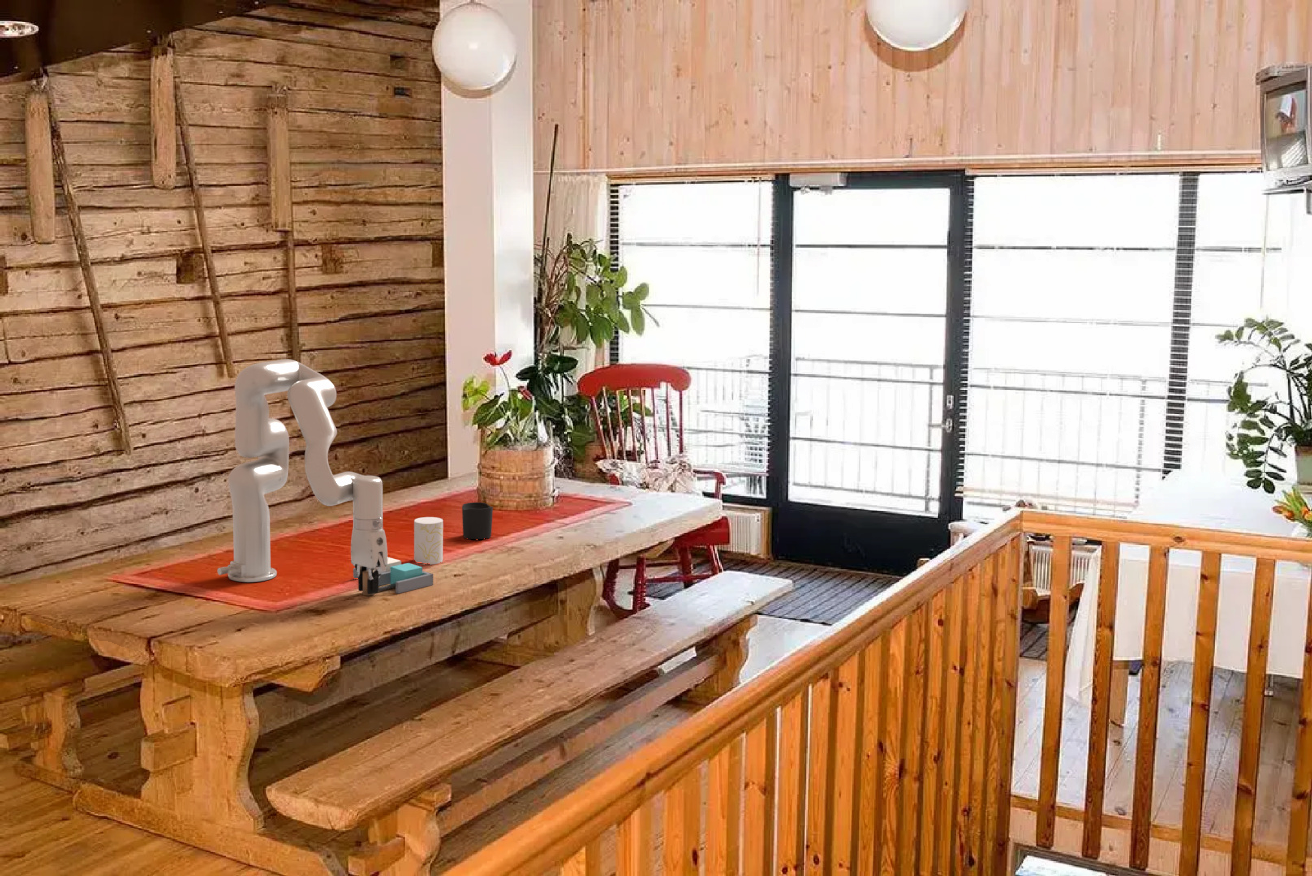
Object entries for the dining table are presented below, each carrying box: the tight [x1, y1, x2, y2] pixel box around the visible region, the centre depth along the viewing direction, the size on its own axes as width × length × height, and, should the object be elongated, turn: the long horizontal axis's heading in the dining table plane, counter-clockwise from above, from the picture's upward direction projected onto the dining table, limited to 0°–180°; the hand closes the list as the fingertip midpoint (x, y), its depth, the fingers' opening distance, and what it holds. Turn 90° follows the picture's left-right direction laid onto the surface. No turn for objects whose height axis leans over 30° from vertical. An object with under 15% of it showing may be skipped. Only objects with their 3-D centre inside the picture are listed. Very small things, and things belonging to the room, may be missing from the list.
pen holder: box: [461, 501, 494, 540], centre depth 404 cm, size 9×9×10 cm
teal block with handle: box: [362, 562, 423, 597], centre depth 347 cm, size 17×6×6 cm, turn 139°
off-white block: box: [373, 557, 402, 573], centre depth 357 cm, size 6×6×5 cm
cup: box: [413, 516, 444, 565], centre depth 375 cm, size 8×8×12 cm
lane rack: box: [352, 566, 434, 594], centre depth 354 cm, size 12×19×3 cm, turn 50°
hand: (368, 590), depth 342 cm, fingers closed on teal block with handle, 3 cm apart
